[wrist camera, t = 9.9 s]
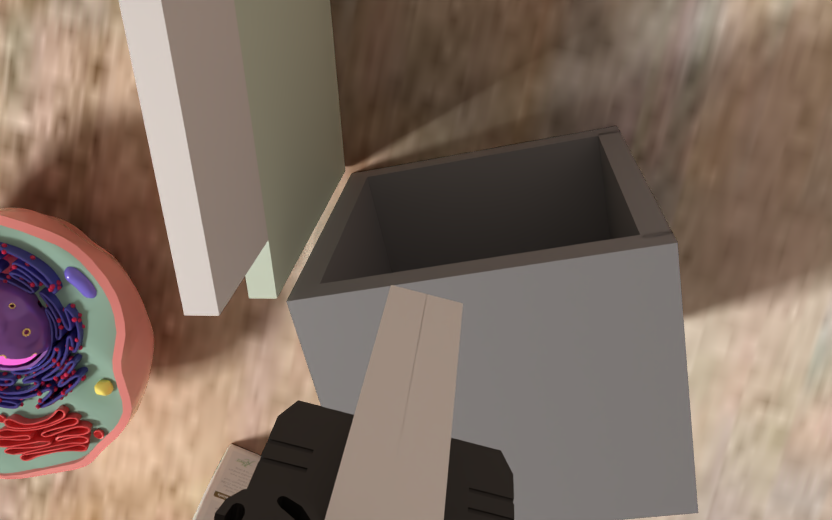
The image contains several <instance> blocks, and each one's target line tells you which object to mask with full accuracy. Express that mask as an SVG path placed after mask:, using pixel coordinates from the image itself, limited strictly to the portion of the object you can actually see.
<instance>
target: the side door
mask: <svg viewBox="0 0 832 520" xmlns="http://www.w3.org/2000/svg"><path fill="white" fill-rule="evenodd" d="M119 4H120V9H121V14H122V19H123V24H124V28H125V33H126V38H127V43H128V48H129V52H130V57H131V62H132V67H133V72H134V76H135V81H136V86H137V91H138V96H139V100H140V105H141V110H142V115H143V120H144V124H145V129H146V134H147V139H148V144H149V148H150V153H151V158H152V163H153V168H154V172H155V177H156V182H157V187H158V192H159V196H160V201H161V206H162V211H163V216H164V220H165V225H166V230H167V235H168V240H169V244H170V249H171V254H172V259H173V264H174V268H175V273H176V278H177V283H178V288H179V292H180V297H181V302H182V307H183V312H184V315H188V316H219V315H220V314H221V312H222V311H223V309H224V308H225V306H226V305H227V303H228V302H229V300H230V298H231V297H232V295H233V294H234V292H235V291H236V289H237V288H238V286H239V285H240V283H241V282H242V280H243V278H244V277H246V283H247V289H248V295H249V298H253V299H277V297H278V296H279V294H280V292H281V290H282V288H283V286H284V284H285V283H286V281H287V279H288V277H289V275H290V273H291V271H292V269H293V268H294V266H295V264H296V262H297V260H298V258H299V256H300V254H301V253H302V251H303V249H304V247H305V245H306V243H307V241H308V240H309V238H310V236H311V234H312V232H313V230H314V228H315V226H316V225H317V223H318V221H319V219H320V217H321V215H322V213H323V212H324V210H325V208H326V206H327V204H328V202H329V200H330V198H331V197H332V195H333V193H334V191H335V189H336V187H337V185H338V183H339V182H340V180H341V178H342V176H343V174H344V172H345V162H344V150H343V139H342V128H341V117H340V106H339V95H338V83H337V72H336V61H335V50H334V39H333V28H332V17H331V5H330V0H119Z"/></svg>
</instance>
